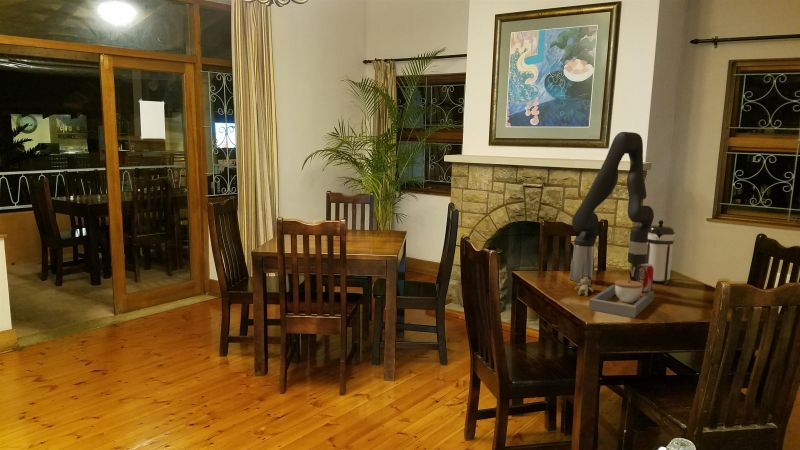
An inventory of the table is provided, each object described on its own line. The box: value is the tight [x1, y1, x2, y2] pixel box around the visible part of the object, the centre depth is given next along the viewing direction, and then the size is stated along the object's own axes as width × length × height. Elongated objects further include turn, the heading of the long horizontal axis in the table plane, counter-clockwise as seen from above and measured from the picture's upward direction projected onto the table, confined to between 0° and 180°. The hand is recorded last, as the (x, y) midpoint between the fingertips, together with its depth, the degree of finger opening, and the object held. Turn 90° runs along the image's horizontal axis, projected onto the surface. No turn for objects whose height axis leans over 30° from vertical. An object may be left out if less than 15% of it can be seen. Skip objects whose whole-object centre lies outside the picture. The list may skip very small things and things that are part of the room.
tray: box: [588, 284, 655, 319], centre depth 233 cm, size 17×32×4 cm, turn 145°
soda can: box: [639, 263, 654, 293], centre depth 258 cm, size 7×7×12 cm
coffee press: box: [646, 219, 676, 286], centre depth 276 cm, size 17×16×30 cm
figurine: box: [574, 275, 594, 297], centre depth 253 cm, size 8×6×15 cm
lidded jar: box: [614, 278, 643, 304], centre depth 239 cm, size 11×11×9 cm
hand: (634, 291), depth 248 cm, fingers closed
